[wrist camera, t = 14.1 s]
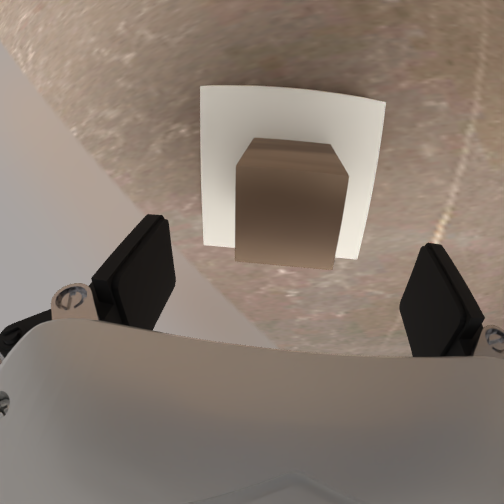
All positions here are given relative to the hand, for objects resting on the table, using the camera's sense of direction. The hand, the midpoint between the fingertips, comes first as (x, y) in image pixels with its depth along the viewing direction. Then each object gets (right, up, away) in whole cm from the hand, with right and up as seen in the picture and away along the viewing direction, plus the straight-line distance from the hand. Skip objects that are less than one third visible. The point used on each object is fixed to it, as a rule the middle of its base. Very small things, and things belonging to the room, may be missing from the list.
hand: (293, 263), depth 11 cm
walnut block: (+1, +5, +9) cm, 11 cm away
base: (+1, +8, +13) cm, 15 cm away
